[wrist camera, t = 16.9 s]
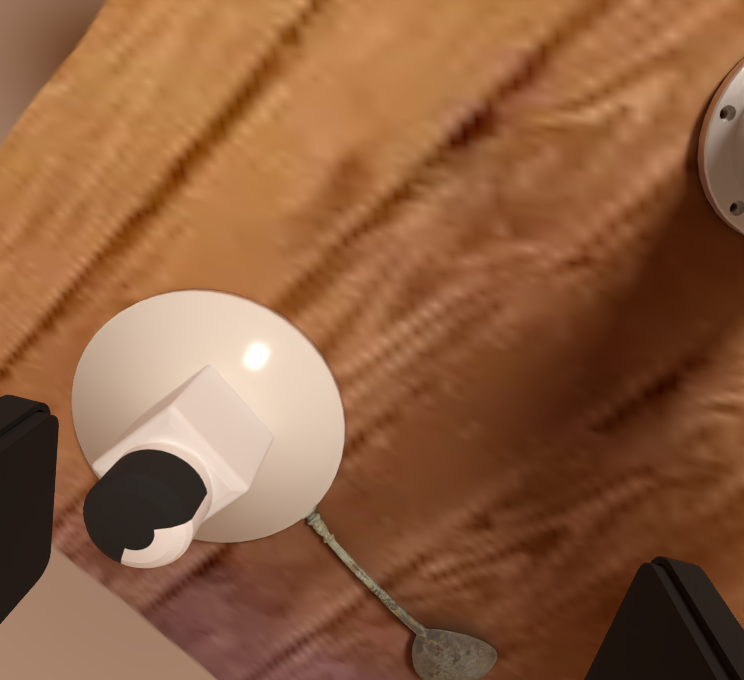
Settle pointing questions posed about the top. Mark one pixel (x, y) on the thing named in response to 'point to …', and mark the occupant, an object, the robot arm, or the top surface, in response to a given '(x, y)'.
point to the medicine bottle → (174, 471)
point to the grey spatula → (423, 629)
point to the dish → (242, 372)
